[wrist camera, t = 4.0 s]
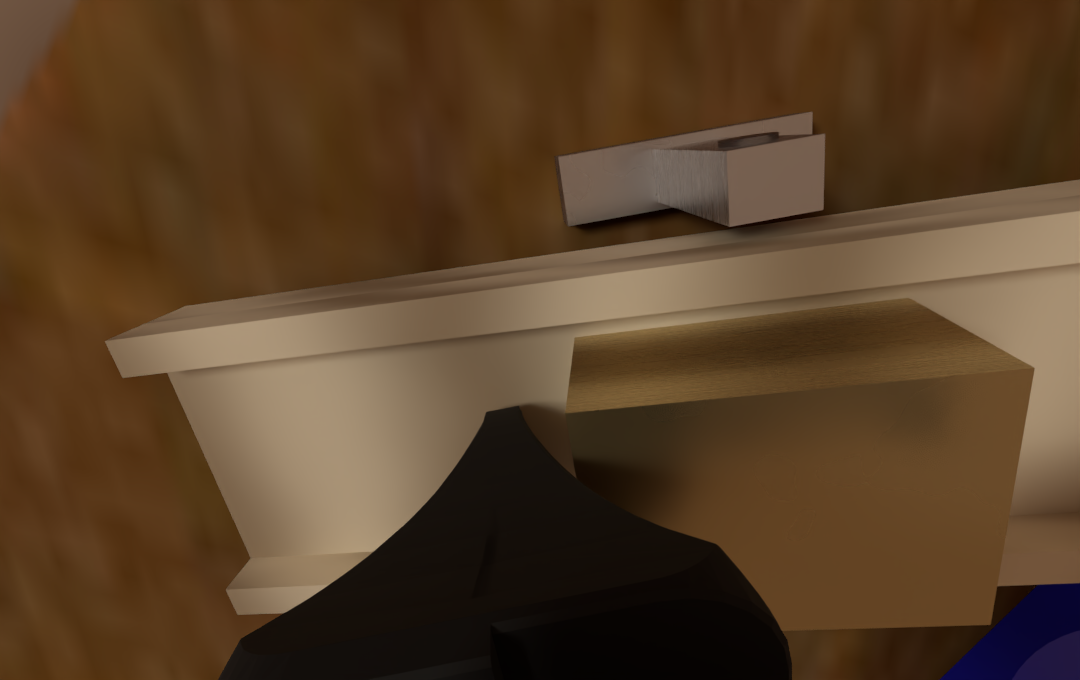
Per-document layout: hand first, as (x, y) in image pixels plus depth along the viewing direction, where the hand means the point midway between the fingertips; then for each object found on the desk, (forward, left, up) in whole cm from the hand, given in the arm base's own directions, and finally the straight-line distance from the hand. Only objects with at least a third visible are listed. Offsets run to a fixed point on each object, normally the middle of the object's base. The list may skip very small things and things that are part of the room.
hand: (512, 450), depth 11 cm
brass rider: (+5, 0, 0) cm, 5 cm away
